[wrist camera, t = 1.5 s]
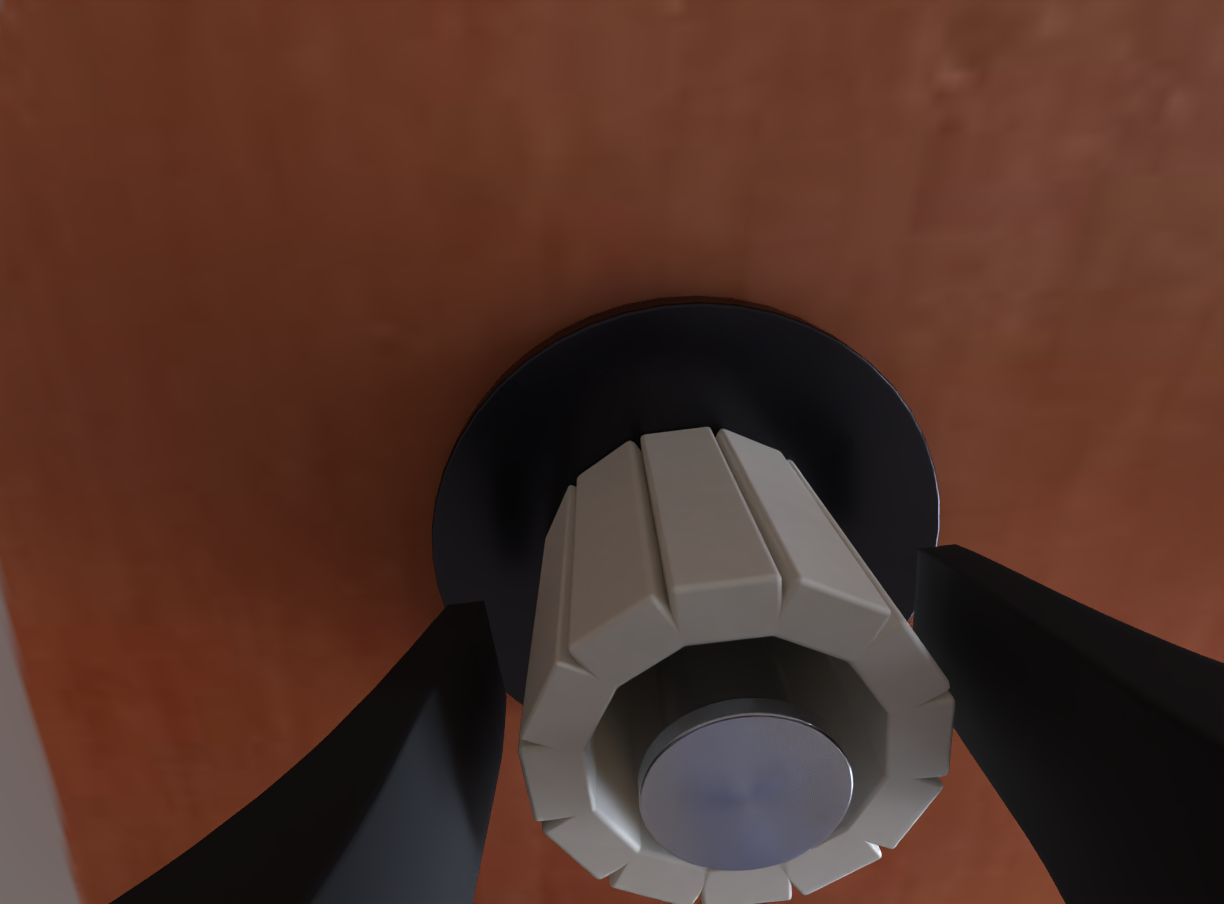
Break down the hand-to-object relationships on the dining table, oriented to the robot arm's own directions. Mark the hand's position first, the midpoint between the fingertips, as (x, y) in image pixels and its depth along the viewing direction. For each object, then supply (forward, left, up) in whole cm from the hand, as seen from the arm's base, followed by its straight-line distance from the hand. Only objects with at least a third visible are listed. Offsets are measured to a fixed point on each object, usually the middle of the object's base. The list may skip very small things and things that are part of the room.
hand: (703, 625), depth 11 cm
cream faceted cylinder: (0, 0, -2) cm, 2 cm away
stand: (0, 0, -3) cm, 3 cm away
